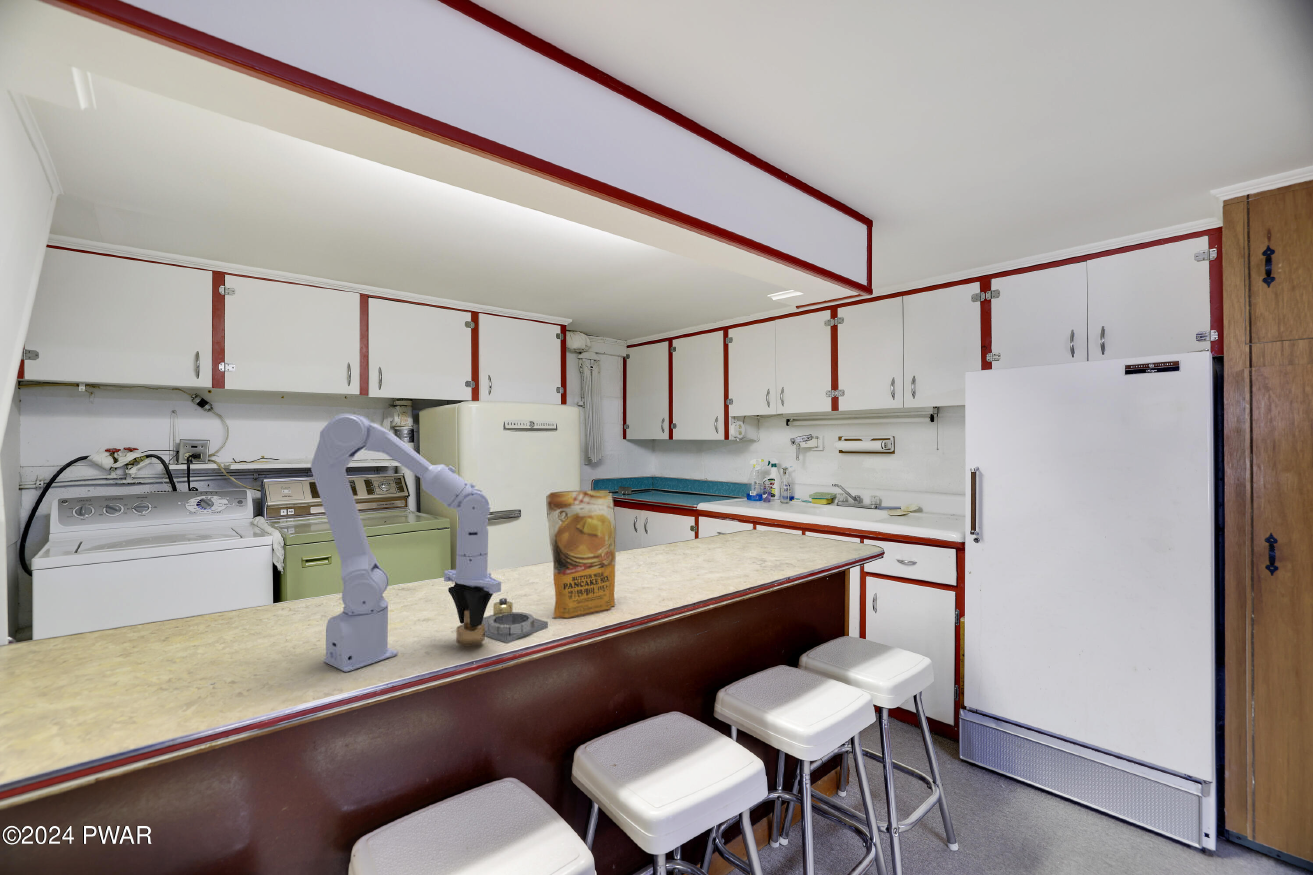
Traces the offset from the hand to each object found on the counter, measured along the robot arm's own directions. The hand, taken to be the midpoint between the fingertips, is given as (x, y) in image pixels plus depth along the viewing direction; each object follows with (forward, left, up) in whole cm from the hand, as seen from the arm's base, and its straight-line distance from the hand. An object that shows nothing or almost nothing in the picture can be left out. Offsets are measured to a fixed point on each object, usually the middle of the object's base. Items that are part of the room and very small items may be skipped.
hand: (470, 623), depth 106 cm
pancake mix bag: (+29, -3, -5) cm, 29 cm away
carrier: (+11, +2, -4) cm, 12 cm away
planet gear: (0, 0, -3) cm, 3 cm away
